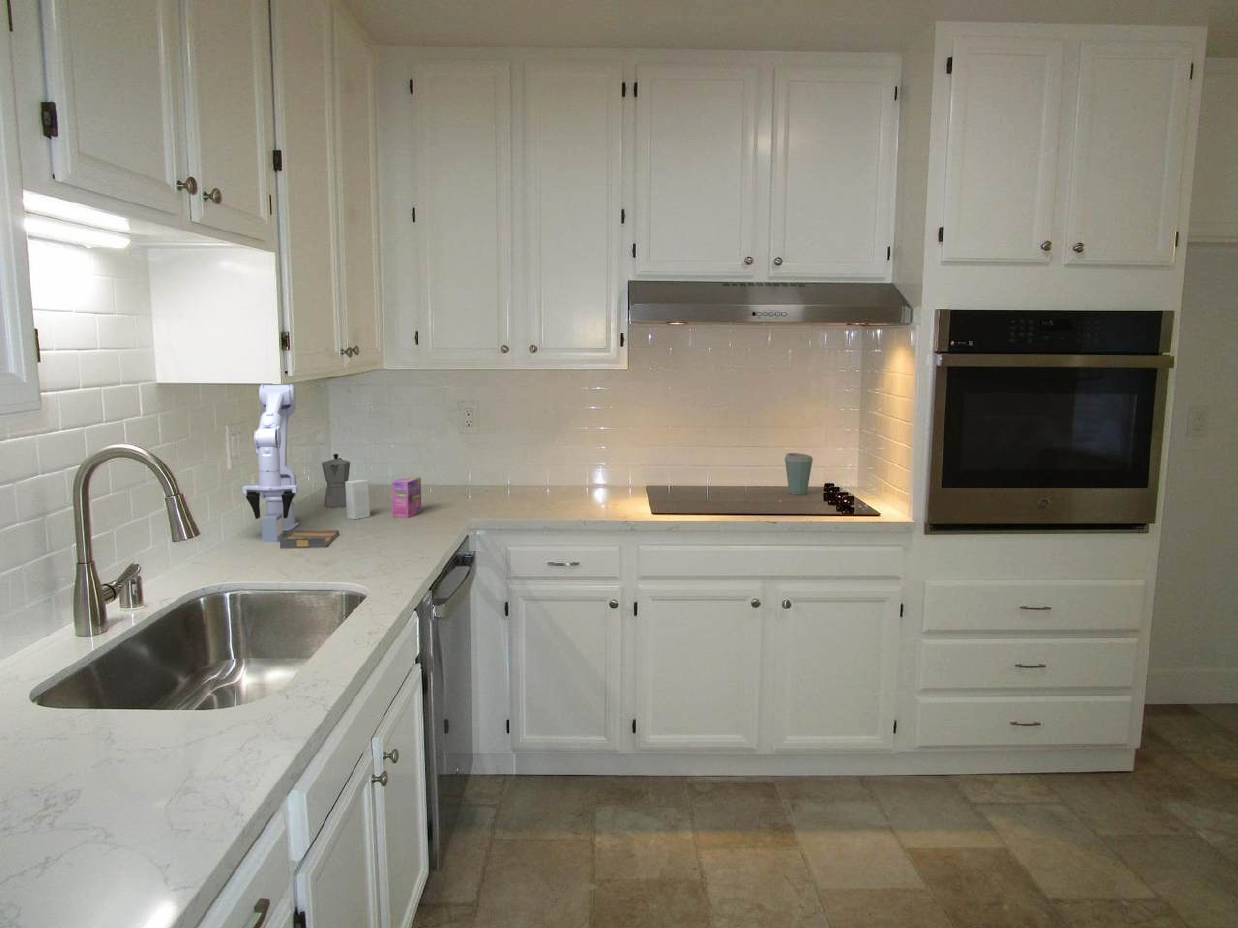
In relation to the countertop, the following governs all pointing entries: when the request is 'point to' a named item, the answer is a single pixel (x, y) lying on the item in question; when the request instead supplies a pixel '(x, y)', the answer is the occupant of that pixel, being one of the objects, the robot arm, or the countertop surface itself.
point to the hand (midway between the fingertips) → (271, 517)
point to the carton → (272, 527)
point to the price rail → (302, 542)
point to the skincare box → (357, 499)
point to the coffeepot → (336, 481)
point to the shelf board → (316, 534)
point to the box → (406, 497)
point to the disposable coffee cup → (798, 472)
